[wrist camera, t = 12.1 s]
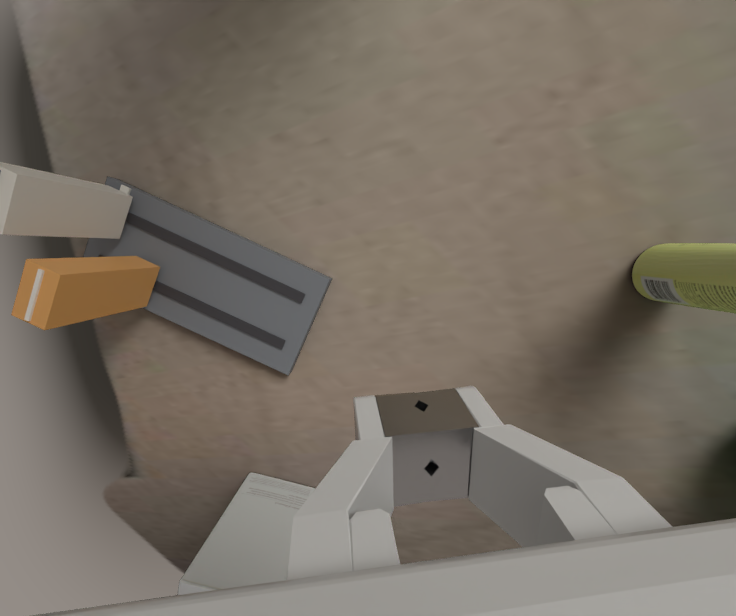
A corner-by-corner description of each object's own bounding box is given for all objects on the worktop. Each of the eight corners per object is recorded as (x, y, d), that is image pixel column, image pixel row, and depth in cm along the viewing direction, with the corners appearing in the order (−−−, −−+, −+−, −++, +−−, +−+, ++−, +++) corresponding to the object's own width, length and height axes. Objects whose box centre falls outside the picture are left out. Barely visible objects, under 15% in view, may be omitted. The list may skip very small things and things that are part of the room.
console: (87, 276, 36) (74, 277, 34) (117, 178, 34) (105, 175, 32) (291, 371, 36) (287, 376, 34) (332, 278, 34) (329, 279, 32)
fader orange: (123, 295, 34) (8, 315, 24) (136, 255, 33) (23, 259, 23) (146, 306, 34) (42, 330, 24) (160, 266, 33) (58, 275, 23)
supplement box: (249, 469, 38) (177, 577, 25) (318, 487, 38) (280, 605, 25) (237, 530, 39) (164, 662, 27) (304, 547, 39) (261, 689, 26)
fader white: (95, 227, 33) (-36, 218, 23) (108, 185, 32) (-22, 157, 22) (119, 238, 33) (-1, 234, 23) (132, 196, 32) (14, 173, 22)
